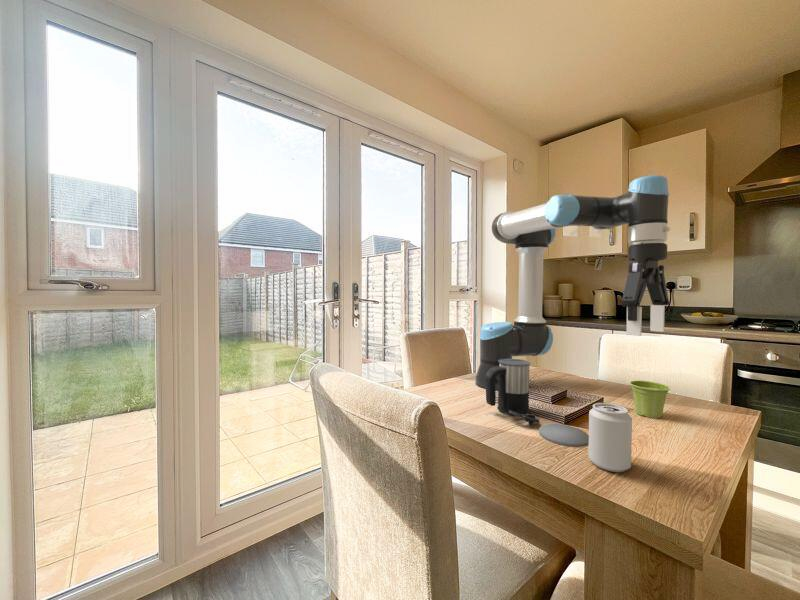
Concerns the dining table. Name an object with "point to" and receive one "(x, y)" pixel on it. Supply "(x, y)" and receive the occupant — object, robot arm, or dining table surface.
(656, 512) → the dining table surface
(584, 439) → the coaster
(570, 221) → the robot arm
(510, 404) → the milk frother
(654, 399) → the plant pot
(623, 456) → the can
